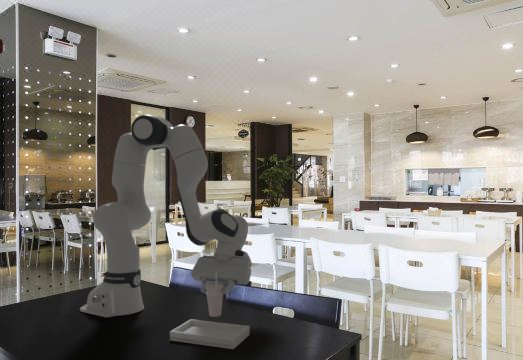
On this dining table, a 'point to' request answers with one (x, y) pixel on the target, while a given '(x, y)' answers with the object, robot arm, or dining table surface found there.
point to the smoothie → (214, 297)
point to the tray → (210, 333)
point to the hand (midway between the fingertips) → (213, 292)
